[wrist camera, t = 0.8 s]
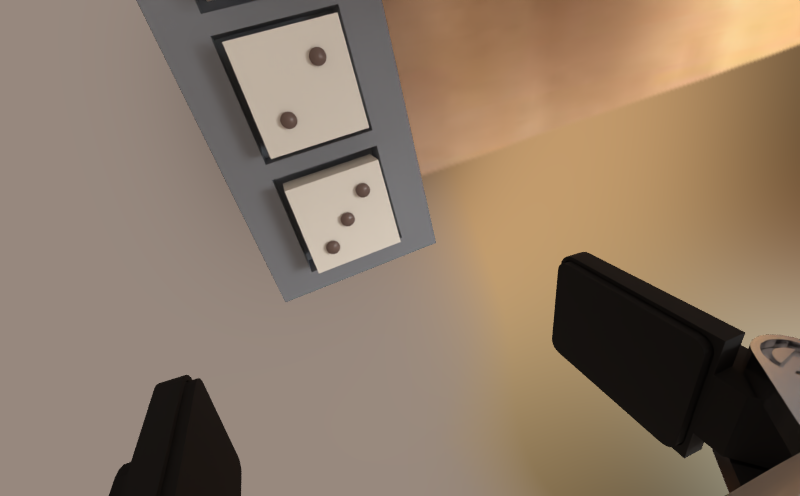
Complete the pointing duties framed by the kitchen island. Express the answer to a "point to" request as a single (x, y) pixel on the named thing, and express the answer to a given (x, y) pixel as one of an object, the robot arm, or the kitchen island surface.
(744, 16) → the kitchen island surface
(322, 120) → the tile
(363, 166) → the tile
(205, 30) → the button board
